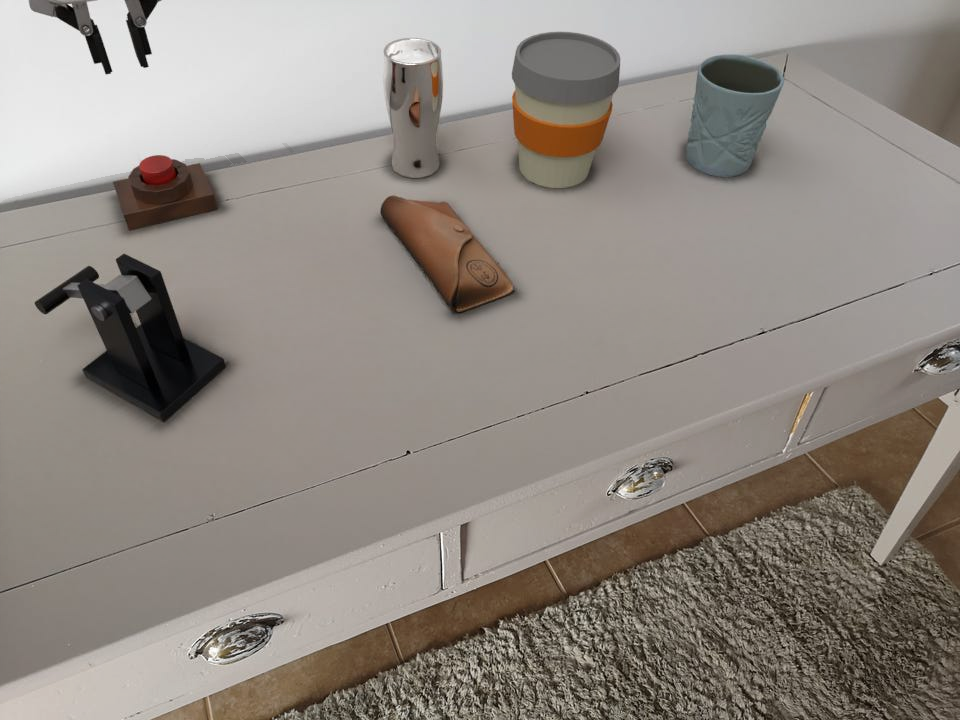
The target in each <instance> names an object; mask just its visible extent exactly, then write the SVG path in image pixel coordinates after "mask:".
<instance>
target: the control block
mask: <svg viewBox="0 0 960 720" xmlns="http://www.w3.org/2000/svg"><path fill="white" fill-rule="evenodd" d="M171 160H172V162H173V165H174V169H175V172H176V177H175V179H174V180H172V181H170V182H169V183H166V184H162V185H148V184H146V183H145V182H144V180H143V178H142V175H141V172H140V168H139V165H137V166H136V167H134V168H133V169H132V170H131V171H130V173H129V175H128V177H127V178H124V179H120V180H116V181H113V182H112V184H113V187H114V191H115V193H116V196H117V200H118V203H119V206H120V210H121V212H122V213H121V214H122V216H123V218H124V221H125V224H126V226H127V229H128V231H134V230H138V229H141V228H146V227H149V226H150V227H151V226H154V225H159V224H162V223H167V222H170V221H175V220H179V219H183V218H188V217H191V216H196V215H201V214H204V213H208V212H209V213H210V212H213V211H217V210H218V209H219V208H218V205H217V201H216V197H215V193H214V191H213V189H212V186H211V185H210V182H209V180H208V177H207V176H206V174H205V171H204V169H203V167H202V165H201V163H200V162H197V163H191V164H188V165H187V164H186V163H184V162H182V161H180V160H178V159H175V158H171Z"/></svg>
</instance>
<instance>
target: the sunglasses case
mask: <svg viewBox="0 0 960 720" xmlns="http://www.w3.org/2000/svg"><path fill="white" fill-rule="evenodd" d="M379 211H380V216H381V217H382V219H383V221H384V222H385V223H386V224H387V227H389V228H390V230H391V231H392V232H393V233H394V234H395V235H396V237H397V238H398V240H399V241H400V242H401V243H402V245H403V246H404V247H405V248H406V250H407V252H409V254H410V255H411V257H412V258H413V259H414V261H415V262H416V263H417V265H418V266H419V267H420V268H421V270H422V271H423V272H424V274H425V275H426V276H427V278H428V279H429V280H430V282H431V283H432V285H433V286H434V288H435V289H436V291H437V292H438V294H439V295H440V296H441V297H442V298H443V300H444V301H445V303H446V304H447V305H448V306H449V308H451V309H453V310H454V311H455V312H457V313H462V312H463V313H464V312H465V311H466V312H467V311H469V310H472V309H475V308H479V307H481V306H484V305H487V304H489V303H492V302H494V301H498V300H499V299H502V298H504V297H506V296H509V295H510V294H512V293H513V292H514V291H515V289H516V288H515V286H514V284H513V282H512V280H511V279H510V278H509V276H508V275H507V274H506V272H505V271H504V270H503V269H502V268H501V266H500V265H499V264H498V263H497V261H496V260H495V259H494V257H492V255H491V254H490V252H489V251H488V250H487V249H486V248H485V247H484V246H483V244H482V243H481V242H480V241H479V240H478V239H477V237H476V236H475V235H474V234H473V232H472V231H471V229H469V227H468V226H467V225H466V224H465V222H464V221H463V220H462V219H461V217H460V216H459V215H458V214H457V213H456V211H455V210H454V209H453V207H452V206H451V205H450V204H449V203H448V202H447V201H440V202H438V201H429V200H428V201H427V200H416V199H407V198H404V197H401V196H397V195H395V194H393V195H389V196H387V197H386V198H385V199H384V200H383V202H382V203H381V206H380V210H379Z"/></svg>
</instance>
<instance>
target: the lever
mask: <svg viewBox="0 0 960 720" xmlns="http://www.w3.org/2000/svg"><path fill="white" fill-rule="evenodd" d="M99 278H100V274H99V272H98V271H97V270H96V269H95V268H94V267H93V266H92V265H87V266H86V267H84V268H82V269H81V270H80V271H78V272H77V273H75V274H73V275H72V276H71V277H69V278H68V279H66V280H65V281H63V282H61V284H59V285H57V286H56V287H54V288H53V289H51V290H50V291H49V292H47V293H46V294H44V295H43V296H41V297H40V298H38V299H36V300H35V301H34V306H35V308H36V309H37V310H38V311H39V312H40V313H41V314H43V315H48V314H49V313H51V312H52V311H54V310H55V309H56V308H58V307H60V306H61V305H62V304H64V303H65V302H66V301H68V300H69V299H72V298H73V299H83V297H82V295H81V293H80V291H79V288H78V286H77V285H78V284H80V283H81V282H83V281H84V280H86V279H88V280H89V281H91V282H93V283H95V281H97V280H98V279H99ZM96 284H97V285H99V286H101V287H103V288H105V289H107V290H109V291H111V292H113V293H115V294H117V295H119V296H121V297H123V298H124V300H125V302H126V305H127V307H128V310H129V312H130V314H134V313H136V310H138V309H139V308H140V307H142V306H143V305H144V304H146V303H147V302H148V301H150V300H151V299H152V298H151V297H150V295H149V294H148V292H147V291H146V289H145V288H144V286H143V285H142V283H141V281H140V280H139V278H138V277H137V276H131V275H121V274H119V275H117V276H115V277H114V278H113V279H111V280H110V281H108V282H107V283H105V284H104V283H96Z"/></svg>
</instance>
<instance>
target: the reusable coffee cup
mask: <svg viewBox="0 0 960 720" xmlns="http://www.w3.org/2000/svg"><path fill="white" fill-rule="evenodd" d="M514 53H515V54H514V58H513V65H512V71H511V79H512V81H513V84H514V88H515V89H514V91H513V93H512V97H511V100H512V101H511V102H512V119H513V120H512V121H513V133H514V137H515V138H516V140H517V147H518V165H519V167H518V169H519V172H520V173H521V174H522V175H523V177H524V178H525V179H526V180H528V181H529V182H531V183H533V184H535V185H538V186H541V187H545V188H548V189H549V188H550V189H566V188H571V187H574V186H575V187H576V186H577V185H579V184H581V183H583V182H584V181H585V180H586V179H587V178H588V175H589V173H590V170H591V167H592V163H593V160H594V157H595V154H596V150H597V149H598V148H599V146H601V144H602V142H603V140H604V136H605V133H606V130H607V127H608V124H609V120H610V116H611V114H612V111H613V106H614V105H613V101H612V100H613V96H614V94H615V93H616V92H617V90H618V88H619V84H620V73H621V56H620V53H619V52H618V51H617V49H616V48H615V47H614V46H612V44H610V43H608V42H606V41H605V40H603V39H600V38H597V37H595V36H592V35H589V34H584V33H580V32H573V31H548V32H542V33H541V32H540V33H538V34H533V35H531V36H529V37H527V38H525V39H523V40H522V41H520V42H519V44H518V45H517V46H516V49H515V52H514Z"/></svg>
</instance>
